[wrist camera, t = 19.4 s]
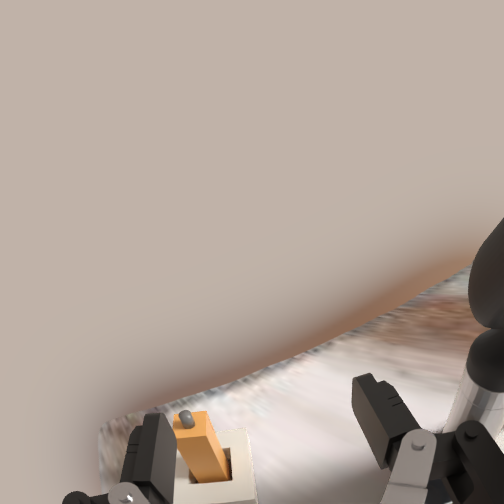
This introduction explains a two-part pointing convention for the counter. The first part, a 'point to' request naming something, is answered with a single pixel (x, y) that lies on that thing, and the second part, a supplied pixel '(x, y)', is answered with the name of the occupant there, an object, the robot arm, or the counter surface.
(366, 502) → the counter surface
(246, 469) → the socket
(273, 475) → the counter surface
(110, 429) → the counter surface
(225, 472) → the plug
